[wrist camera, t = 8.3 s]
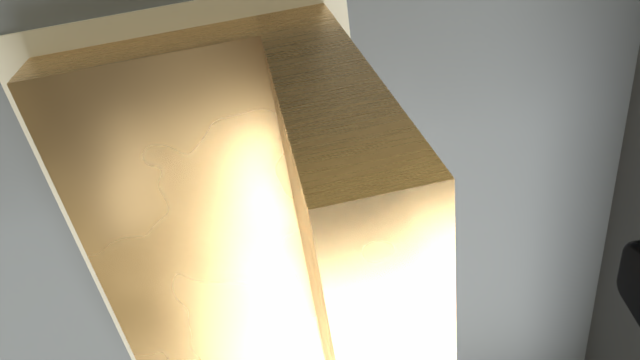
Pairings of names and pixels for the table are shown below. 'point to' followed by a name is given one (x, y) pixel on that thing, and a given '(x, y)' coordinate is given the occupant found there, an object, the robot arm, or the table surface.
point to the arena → (439, 131)
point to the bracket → (250, 192)
